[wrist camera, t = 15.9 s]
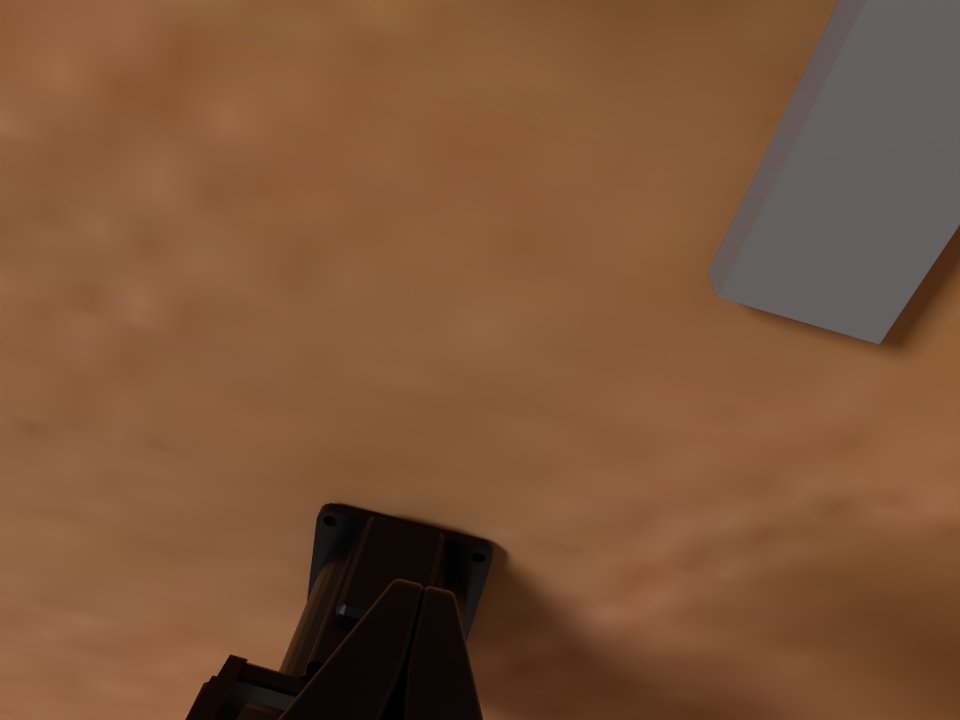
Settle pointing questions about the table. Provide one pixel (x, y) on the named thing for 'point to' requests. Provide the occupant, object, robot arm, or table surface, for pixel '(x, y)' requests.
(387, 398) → the table surface
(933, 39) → the domino
